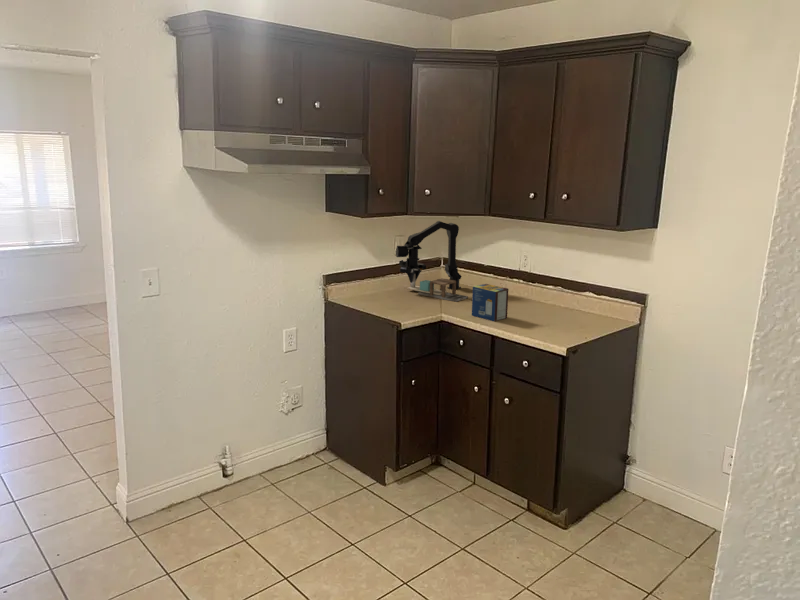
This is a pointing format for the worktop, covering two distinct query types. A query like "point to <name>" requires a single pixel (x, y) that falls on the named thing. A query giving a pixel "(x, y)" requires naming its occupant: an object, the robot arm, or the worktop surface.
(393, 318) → the worktop surface
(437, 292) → the sled
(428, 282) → the teal block
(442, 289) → the tunnel
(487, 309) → the protein box
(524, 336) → the worktop surface
